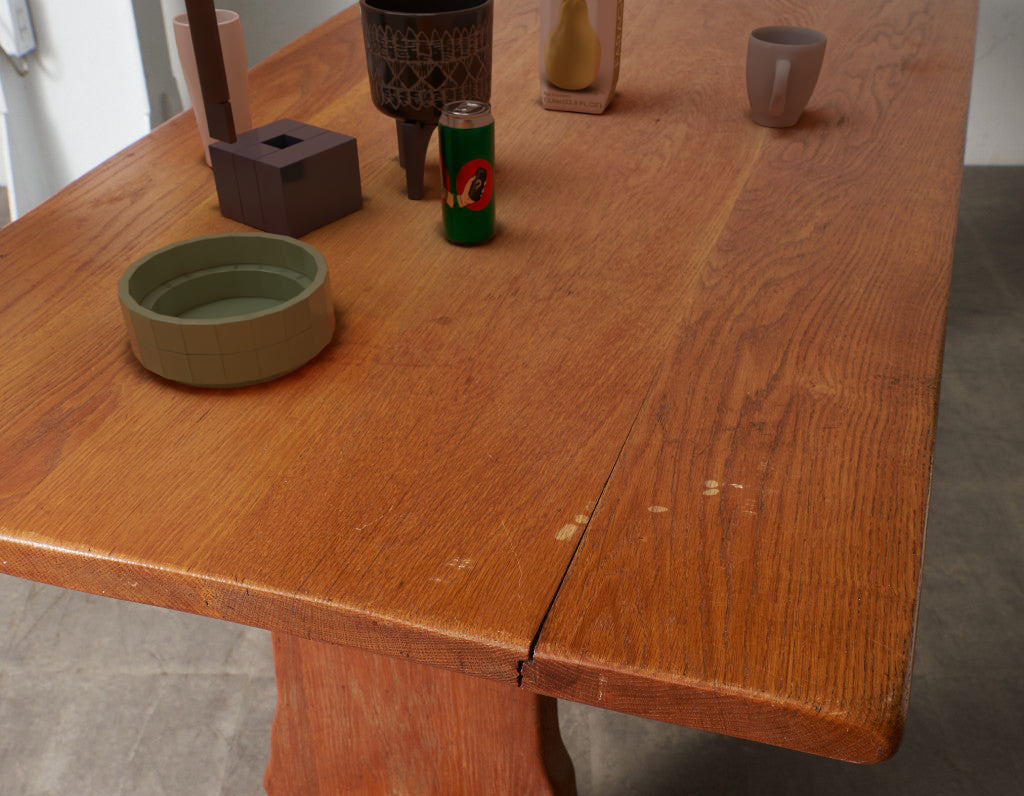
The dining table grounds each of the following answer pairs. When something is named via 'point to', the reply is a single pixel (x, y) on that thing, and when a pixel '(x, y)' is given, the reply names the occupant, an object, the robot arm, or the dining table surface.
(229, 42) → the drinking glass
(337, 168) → the holder
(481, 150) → the soda can
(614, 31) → the juice carton
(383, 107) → the planter
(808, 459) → the dining table surface
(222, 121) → the dark brown square rod
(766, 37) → the mug
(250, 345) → the bowl
